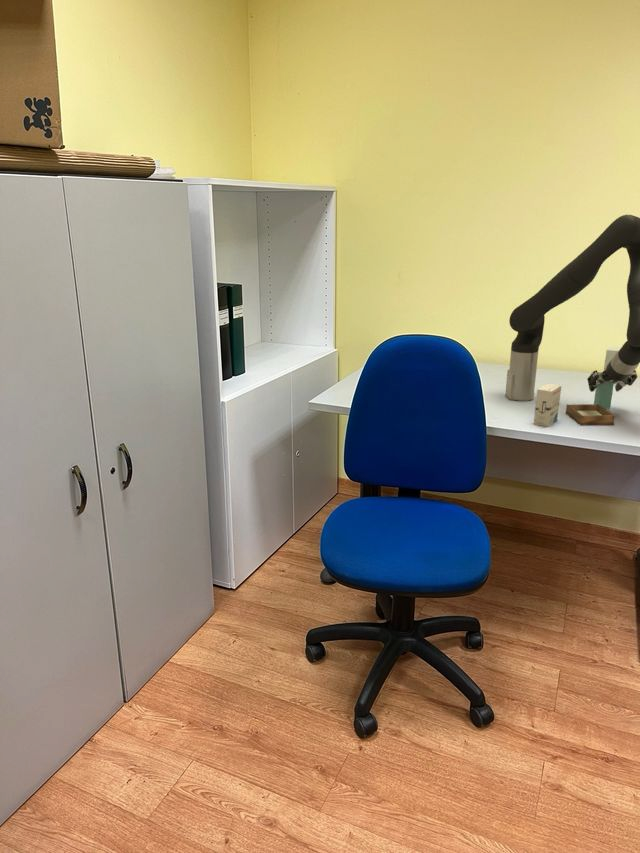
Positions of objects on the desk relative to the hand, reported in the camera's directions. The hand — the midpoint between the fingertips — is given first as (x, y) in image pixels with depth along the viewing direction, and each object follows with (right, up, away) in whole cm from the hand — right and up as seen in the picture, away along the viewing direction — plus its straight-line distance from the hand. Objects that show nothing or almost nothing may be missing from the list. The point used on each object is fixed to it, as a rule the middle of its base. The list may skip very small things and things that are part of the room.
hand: (603, 389), depth 217 cm
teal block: (0, -6, +2) cm, 7 cm away
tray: (-9, -10, -10) cm, 17 cm away
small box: (+18, +5, +35) cm, 40 cm away
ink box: (-24, -11, -12) cm, 29 cm away
